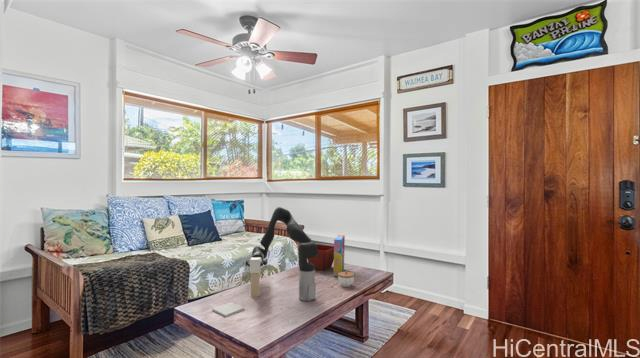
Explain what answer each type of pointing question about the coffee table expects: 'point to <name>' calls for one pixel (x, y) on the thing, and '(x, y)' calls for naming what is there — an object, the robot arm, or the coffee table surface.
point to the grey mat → (228, 309)
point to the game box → (339, 254)
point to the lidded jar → (346, 278)
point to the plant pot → (323, 257)
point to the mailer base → (254, 284)
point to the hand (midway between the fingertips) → (255, 265)
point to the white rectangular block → (255, 265)
